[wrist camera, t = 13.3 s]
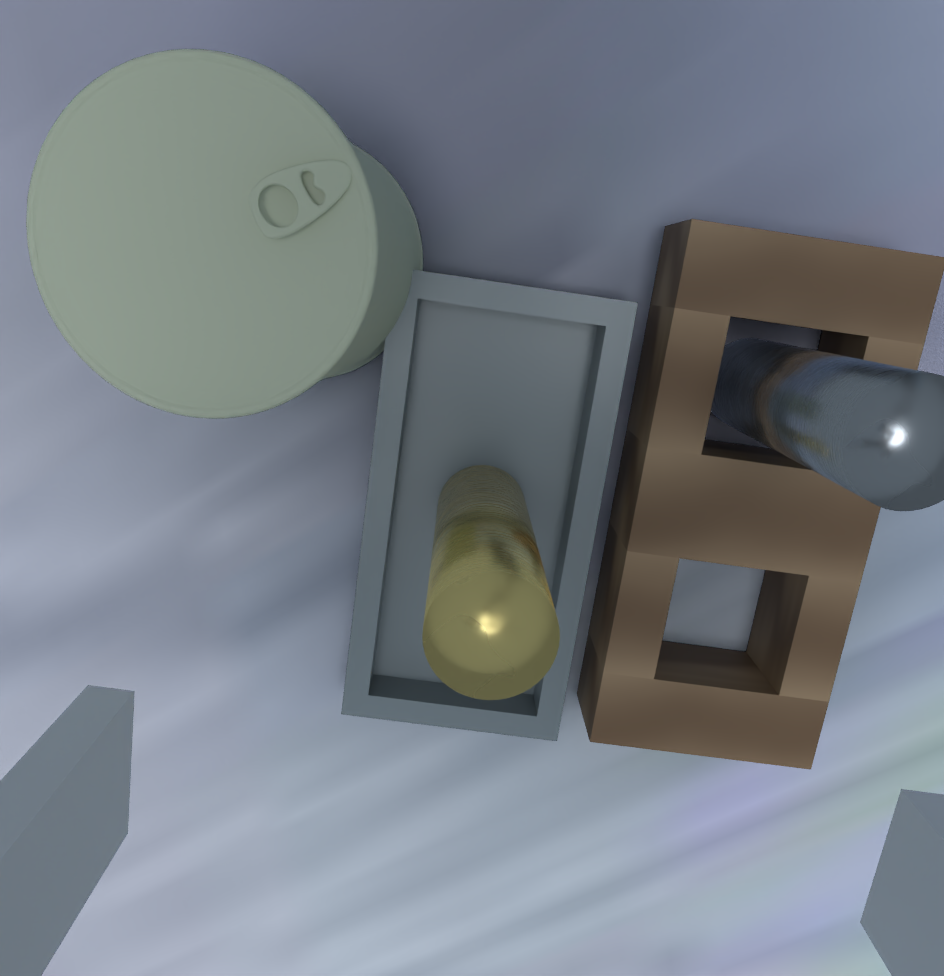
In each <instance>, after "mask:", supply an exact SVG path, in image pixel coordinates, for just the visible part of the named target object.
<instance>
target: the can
mask: <svg viewBox="0 0 944 976" xmlns="http://www.w3.org/2000/svg"><path fill="white" fill-rule="evenodd" d="M26 227H27V240H28V249H29V255H30V261H31V265H32V269H33V273H34V276H35V279H36V282H37V285H38V289H39V292H40V294H41V296H42V299H43V301H44V304H45V306H46V308H47V310H48V312H49V314H50V316H51V317H52V319H53V321H54V323H55V324H56V326H57V328H58V329H59V331H60V332H61V334H62V335H63V337H64V338H65V340H66V341H67V342H68V343H69V345H70V346H71V347H72V348H73V349H74V351H75V352H76V353H77V354H78V355H79V357H80V358H81V359H82V360H83V361H84V362H85V363H86V364H87V365H88V366H89V367H90V368H91V369H92V370H93V371H95V372H96V373H97V374H98V375H99V376H101V377H102V378H103V379H104V380H105V381H107V382H108V383H110V384H111V385H113V386H114V387H115V388H117V389H119V390H120V391H122V392H123V393H125V394H127V395H129V396H130V397H132V398H134V399H136V400H138V401H140V402H142V403H145V404H147V405H150V406H152V407H154V408H158V409H161V410H164V411H167V412H170V413H174V414H178V415H183V416H190V417H196V418H209V419H220V418H234V417H241V416H247V415H252V414H256V413H259V412H263V411H266V410H269V409H272V408H274V407H277V406H279V405H281V404H283V403H285V402H287V401H289V400H291V399H293V398H295V397H297V396H299V395H300V394H302V393H303V392H305V391H306V390H308V389H309V388H311V387H312V386H313V385H315V384H316V383H317V382H319V381H321V380H323V379H325V378H330V377H334V376H338V375H341V374H345V373H348V372H350V371H353V370H355V369H357V368H359V367H361V366H363V365H365V364H366V363H368V362H370V361H371V360H372V359H374V358H375V357H377V356H378V355H379V354H380V353H382V352H383V351H384V346H385V338H386V337H387V335H388V334H389V333H390V331H391V330H392V329H393V327H394V325H395V324H396V322H397V320H398V318H399V316H400V314H401V312H402V310H403V308H404V305H405V303H406V300H407V297H408V293H409V289H410V285H411V279H412V272H413V270H420V271H423V249H422V242H421V236H420V231H419V227H418V223H417V220H416V217H415V214H414V212H413V209H412V207H411V205H410V203H409V201H408V199H407V197H406V195H405V193H404V192H403V190H402V189H401V187H400V186H399V184H398V183H397V181H396V180H395V179H394V178H393V176H392V175H391V174H390V173H389V172H388V171H387V170H386V168H385V167H384V166H382V165H381V164H380V163H379V162H378V161H377V160H376V159H374V158H373V157H372V156H371V155H369V154H368V153H366V152H365V151H363V150H362V149H360V148H359V147H357V146H355V145H353V144H352V143H351V142H350V141H349V140H348V139H347V138H346V136H345V135H344V133H343V132H342V131H341V129H340V128H339V127H338V125H337V124H336V122H335V121H334V120H333V119H332V118H331V116H330V115H329V114H328V113H327V112H326V111H325V109H324V108H323V107H322V106H321V105H319V104H318V103H317V102H316V101H315V100H314V99H313V98H312V97H311V96H310V95H309V94H307V93H306V92H305V91H304V90H303V89H302V88H300V87H299V86H298V85H296V84H295V83H293V82H292V81H290V80H289V79H287V78H286V77H284V76H283V75H281V74H279V73H277V72H276V71H274V70H272V69H270V68H268V67H266V66H264V65H262V64H259V63H257V62H255V61H252V60H249V59H246V58H243V57H240V56H237V55H233V54H229V53H225V52H219V51H212V50H204V49H178V50H168V51H162V52H156V53H152V54H148V55H144V56H141V57H138V58H135V59H132V60H130V61H127V62H125V63H123V64H121V65H119V66H117V67H114V68H113V69H111V70H109V71H108V72H106V73H104V74H103V75H101V76H100V77H98V78H97V79H95V80H94V81H93V82H91V83H90V84H89V85H88V86H86V87H85V88H84V89H83V90H82V91H81V92H80V93H79V94H78V95H76V96H75V98H74V99H73V100H72V101H71V102H70V103H69V104H68V106H67V107H66V108H65V109H64V110H63V111H62V113H61V114H60V116H59V117H58V119H57V120H56V122H55V123H54V125H53V126H52V128H51V129H50V131H49V133H48V135H47V137H46V139H45V141H44V143H43V145H42V147H41V149H40V152H39V155H38V158H37V160H36V163H35V166H34V170H33V173H32V177H31V181H30V187H29V192H28V199H27V219H26Z"/></svg>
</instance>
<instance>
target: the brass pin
mask: <svg viewBox="0 0 944 976" xmlns="http://www.w3.org/2000/svg"><path fill="white" fill-rule="evenodd" d="M422 640H423V648H424V653H425V656H426V658H427V661H428V663H429V665H430V667H431V669H432V670H433V671H434V673H435V674H436V676H437V677H438V678H439V679H440V680H441V681H442V682H443V683H445V684H446V685H447V686H448V687H450V688H451V689H453V690H454V691H456V692H458V693H460V694H462V695H465V696H468V697H471V698H476V699H481V700H500V699H506V698H510V697H513V696H516V695H519V694H521V693H523V692H525V691H527V690H528V689H530V688H532V687H533V686H534V685H536V684H537V683H538V682H539V681H540V680H541V679H542V678H543V677H544V676H545V675H546V673H547V672H548V671H549V670H550V668H551V666H552V664H553V663H554V660H555V658H556V655H557V652H558V648H559V641H560V629H559V623H558V619H557V615H556V612H555V608H554V604H553V601H552V597H551V593H550V590H549V586H548V582H547V579H546V575H545V571H544V568H543V564H542V560H541V557H540V553H539V549H538V546H537V542H536V538H535V535H534V531H533V528H532V524H531V520H530V517H529V513H528V509H527V506H526V502H525V498H524V495H523V492H522V490H521V488H520V486H519V484H518V483H517V482H516V480H515V479H514V478H513V477H512V476H511V475H509V474H508V473H507V472H505V471H503V470H501V469H499V468H496V467H493V466H489V465H475V466H470V467H467V468H464V469H462V470H460V471H459V472H457V473H455V474H454V475H453V476H452V477H451V478H450V479H449V480H448V481H447V482H446V484H445V485H444V487H443V489H442V490H441V493H440V496H439V500H438V507H437V515H436V524H435V532H434V540H433V549H432V557H431V565H430V573H429V582H428V590H427V598H426V607H425V615H424V623H423V634H422Z"/></svg>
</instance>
